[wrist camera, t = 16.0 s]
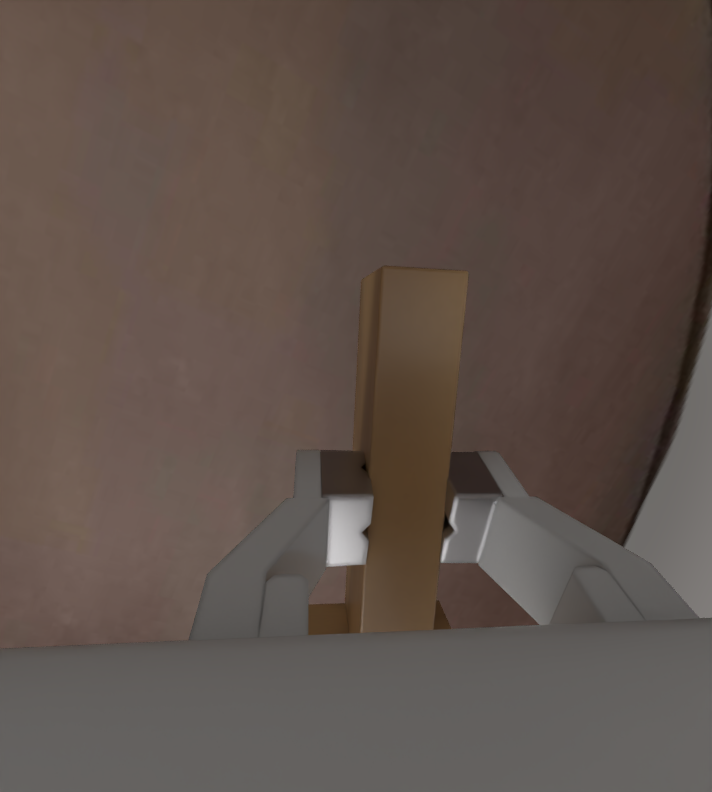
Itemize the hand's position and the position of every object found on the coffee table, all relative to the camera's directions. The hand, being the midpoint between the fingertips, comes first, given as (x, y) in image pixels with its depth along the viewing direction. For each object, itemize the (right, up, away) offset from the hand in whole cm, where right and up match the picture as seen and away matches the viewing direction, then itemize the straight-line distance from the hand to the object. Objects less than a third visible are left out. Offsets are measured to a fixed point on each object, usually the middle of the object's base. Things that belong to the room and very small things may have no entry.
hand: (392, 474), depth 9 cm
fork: (0, -4, +2) cm, 5 cm away
